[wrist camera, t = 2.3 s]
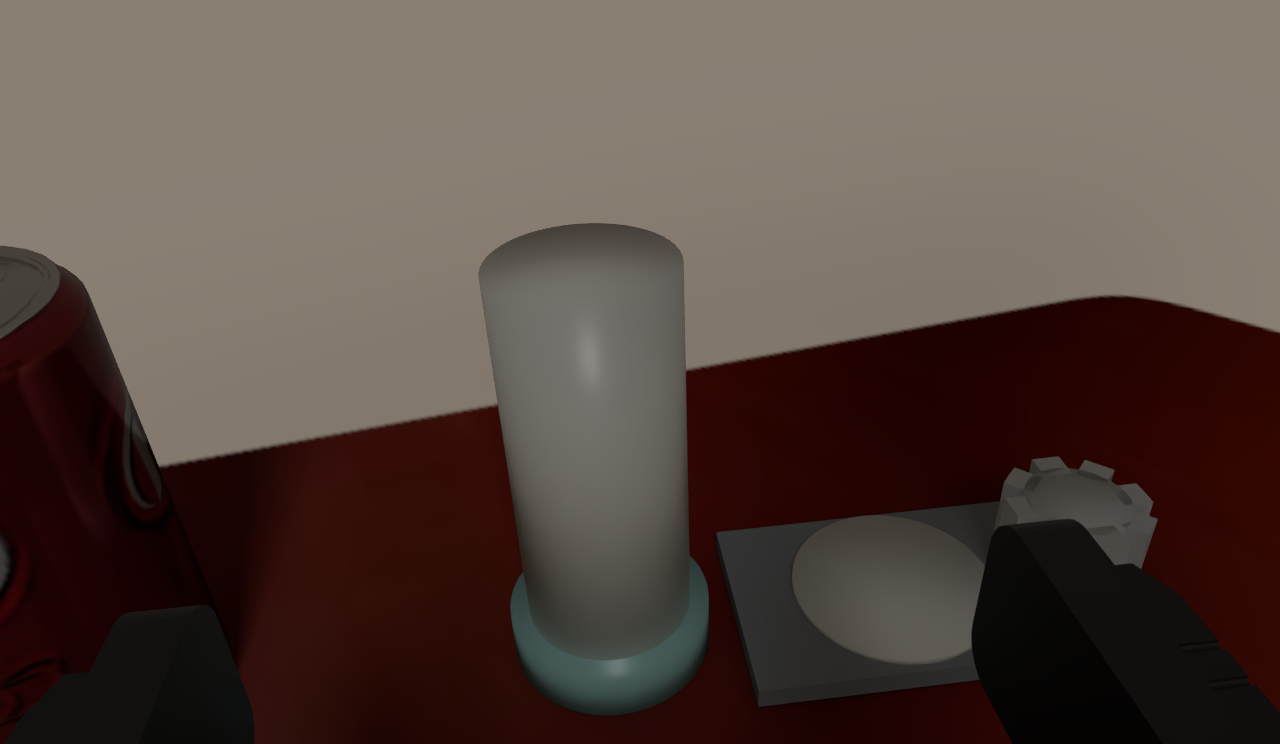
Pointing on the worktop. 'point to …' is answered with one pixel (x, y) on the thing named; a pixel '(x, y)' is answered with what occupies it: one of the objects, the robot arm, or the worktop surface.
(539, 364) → the gray pillar
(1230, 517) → the worktop surface
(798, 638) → the carrier plate
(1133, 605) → the robot arm
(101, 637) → the soda can
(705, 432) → the worktop surface
